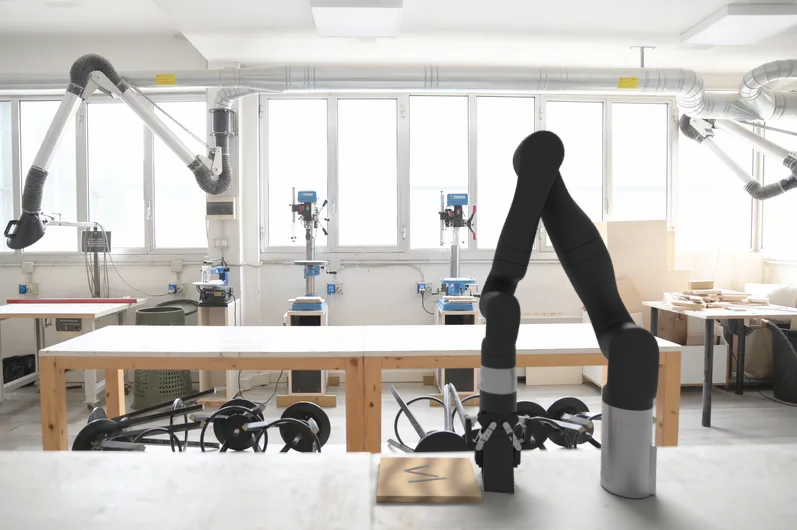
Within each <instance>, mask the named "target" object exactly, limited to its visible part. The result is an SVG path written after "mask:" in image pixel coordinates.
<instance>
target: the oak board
mask: <svg viewBox="0 0 797 530" xmlns="http://www.w3.org/2000/svg"><path fill="white" fill-rule="evenodd" d="M379 458H380V460H379V470H378V478H377V479H378V481H377V490H376V502H377V503H474V504H475V503H483V494H482V492H481V489H480V485H479V483H478V482H479V481H478V480H477V476H476V474H475V470H474V467H473V464H472V461H471V458H470V457H427V456H426V457H421V456H419V457H417V456H416V457H414V456H413V457H412V456H411V457H405V456H403V457H399V456H397V457H396V456H395V457H394V456H392V457H391V456H389V457H388V456H387V457H385V456H381V457H379Z"/></svg>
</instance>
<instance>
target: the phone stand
mask: <svg viewBox="0 0 797 530" xmlns="http://www.w3.org/2000/svg"><path fill="white" fill-rule="evenodd" d="M511 429H512V431H513V432H514V429H513V427H511ZM484 432H485V429H484V428H483V433H484ZM513 432H509V433H508V434H507V432H506V430H505V429H504V428H498V429H494V430H493V431H492V433H491V435H490V437H489V438H488V440H487V442H485V443H483V447H482V451H483V465H482V468H480V470H481V472H480V473H481V479H482V487H483V488H482V489H483V492H490V493H491V492H492V493H506V494H508V493H509V494H515V468H514V458H513ZM510 437H511V438H512V441H511V439H510Z"/></svg>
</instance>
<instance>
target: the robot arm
mask: <svg viewBox="0 0 797 530" xmlns="http://www.w3.org/2000/svg"><path fill="white" fill-rule="evenodd" d="M565 152H566V151H565V145H564V142H563V140H562V139H561V138H560V136H559V135H557V134H556V133H555V132H554V131H551V130H547V129H540V130H536V131H533V132H531V133H530V134H528V135H526V136H525V137H524V138H523V139H522V140H521V142H520V143H519V144H518V146H516V148H515V151H514V153H513V156H512V166H513V170H514V172H515V174H516V176H517V177H516V178H517V179H516V180H517V181H516V186H515V191H514V194H513V198H512V201H511V203H510V204H511V205H510V207H509V209H508V213H507V215H506V218H505V219H504V222H503V225H502V229H501V230H500V231H501V232H500V234H499V236H498V241H497V245H496V247H495V251H494V255H493V259H492V264H491V269H490V271H489V273H488V275H487V277H486V280H485V282H484V285H483V287H482V290H481V293H480V296H479V301H478V302H479V303H478V308H479V312H480V314H481V316H482V318H484V319H485V335H484V336H485V337H483V338H482V340H481V344H480V345H481V347H480V348H481V349H480V370H479V388H478V389H479V393H478V394H479V396H478V397H479V398H478V399H479V402H478V404H479V405H478V407H479V408H478V409H479V410H478V413H477V414H476V415H469V414H464V415H463V425H464V439H465V443H466V446H467V447H468V448H473V449H474V451H473V452H474V453H473V454H474V458H473V459H474V462H475V464H476V466H477V467H478V469H479V468H480V469H481V468H482V465H483V451H482V447H483V443H485V442H487V440H488V438H489V437H490V435H491V433H492V431H493V430H494V429H498V428H504V429H505V430H506V432H507V434H508V433H509V432H513V458H514V469H518V466H520V465H521V463H522V461H521V460H522V458H521V457H522V450H523V449H524V448H530V447H531V443H532V431H533V419H532V418H531V417H530V415H528V414H524V416H523V415H518V414H517V407H518V406H517V405H518V403H517V401H518V397H517V396H518V389H517V388H518V375H517V374H518V373H517V346H516V345H517V340H518V336H519V330H520V325H521V316H522V311H521V310H522V309H521V305H520V302H519V300H518V298H517V297H516V296H515V293H516V290H517V288H518V287H517V286H518V284H519V282H520V281H522V280H523V279H524V278H525V276H526V273H527V271H528V267H529V263H530V260H531V256H532V253H533V252H532V251H533V249H534V246H535V240H536V237H537V232H538V228H539V224H540V220H541V222H542V224H543V227H544V229H545V231H546V234H547V236H548V238H549V241H550V243H551V245H552V248H553V250H554V252H555V254H556V257H557V259H558V261H559V263H560V265H561V267H562V269H563V271H564V273H565V275H566V276H567V279H568V280H569V282H570V284H571V286H572V288H573V290H574V292H575V293H576V294H577V296H578V298H579V299H580V302H581V303H582V305H583V307H584V308H585V311H586V313H587V316H588V318H589V322H590V324H591V327H592V329H593V332H594V335H595V338H596V341H597V344H598V347H599V349H600V352H601V353H602V355H603V357H605V359H607V375H606V376H607V378H606V379H607V380H606V384H604V385H603V387H602V388H601V389H602V390H601V427H600V431H601V434H600V435H601V436H600V437H601V439H600V443H601V444H600V470H599V471H600V472H599V473H600V475H599V477H600V480H599V481H600V484H601V486H602V488H604V489H605V490H607V491H608V492H610V493H612V494H614V495H617V496H620V497H623V498H626V499H627V498H628V499H645V498H648V497H649V496H651V495H656V494H657V492H656V491H657V467H658V466H657V461H658V460H657V458H658V455H657V454H658V447H657V446H656V445H655V444H654V443H653V431H654V430H653V427H654V423H653V420H654V418H653V417H654V415H653V414H654V398H655V397H656V395H657V392H658V388H659V387H658V386H659V376H660V375H659V374H660V373H659V371H660V348H659V347H660V346H659V344H658V341H657V339H656V337H655V335H653V333H652V332H651V331H649V330H647V329H646V328H644V327H642V326H640V325H638V324H637V323H636V322H635V320H634V318H632V316H631V314H630V313H629V311H628V309H627V307H626V305H625V303H624V302H623V300H622V298H621V295H620V293H619V289H618V284H617V280H616V274H615V270H614V268H615V267H614V264H613V260H612V257H611V254H610V252H609V250H608V248H607V246H606V244H605V242H604V239H603V237H602V236H601V232H600V231H599V230H598V228H597V226H596V225H595V224H594V222H593V221H592V220H591V218H590V217H589V216H588V214H587V213H586V212H585V211H584V210H583V209H582V208H581V207H580V206H579V205H578V203H577V202H576V200H574V198H573V197H572V195H571V194H570V192H569V190H568V187H567V186H566V183H565V181H564V179H563V176H562V174H561V172H560V171H561V170H560V168H561V166H562V165H563V162H564V159H565V155H566V154H565ZM476 423H478V424H479V425H480V426H481V427H480V429H479V431H478V433H477V435H476V438H475V439H474V438H473V431H472V430H473V429H472V428H474V427H475V425H476ZM518 424H520V426H521V438H520V439H518V438H517V436H516V435H515V433H514V429H515V427H516V426H517V425H518ZM511 427H513V431H512V429H511ZM483 428H484V429H485V432H484V433H483ZM510 439H511V441H512V438H511V437H510Z"/></svg>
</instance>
